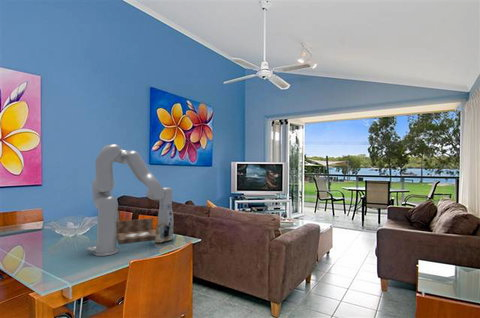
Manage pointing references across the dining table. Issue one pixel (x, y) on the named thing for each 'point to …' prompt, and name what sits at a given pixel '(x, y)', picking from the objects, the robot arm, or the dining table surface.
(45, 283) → the dining table surface
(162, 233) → the picture frame
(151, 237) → the walnut ledge
